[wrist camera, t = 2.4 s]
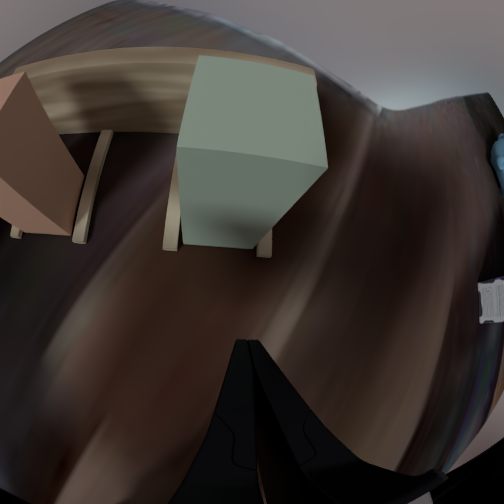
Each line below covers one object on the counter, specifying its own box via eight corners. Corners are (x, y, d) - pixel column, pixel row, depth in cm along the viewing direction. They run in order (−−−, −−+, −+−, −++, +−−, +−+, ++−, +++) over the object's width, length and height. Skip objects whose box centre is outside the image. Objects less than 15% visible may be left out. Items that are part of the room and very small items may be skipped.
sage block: (252, 249, 20) (328, 167, 9) (183, 243, 19) (176, 146, 8) (253, 187, 21) (313, 75, 10) (190, 181, 20) (199, 55, 9)
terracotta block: (71, 235, 17) (-22, 156, 6) (24, 232, 16) (-68, 166, 5) (84, 176, 18) (25, 71, 7) (39, 177, 17) (-29, 90, 6)
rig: (283, 258, 21) (334, 226, 13) (5, 237, 16) (-50, 204, 8) (281, 129, 24) (313, 68, 16) (44, 120, 19) (17, 67, 11)
